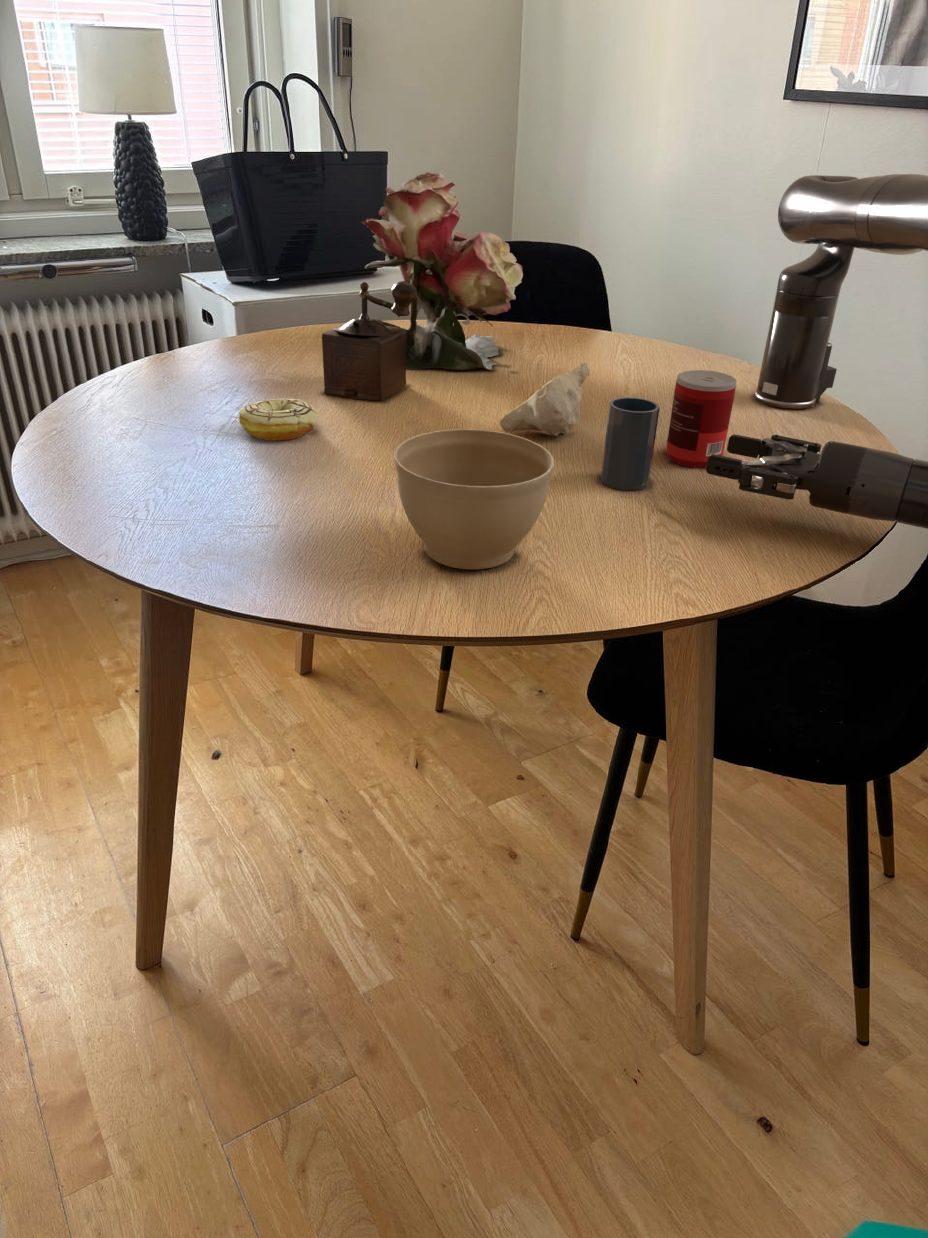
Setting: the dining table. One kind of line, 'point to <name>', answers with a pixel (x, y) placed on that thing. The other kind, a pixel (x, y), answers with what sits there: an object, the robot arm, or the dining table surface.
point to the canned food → (700, 416)
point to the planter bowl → (472, 493)
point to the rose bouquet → (443, 273)
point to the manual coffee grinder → (368, 351)
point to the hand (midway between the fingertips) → (718, 452)
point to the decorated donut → (278, 418)
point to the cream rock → (550, 405)
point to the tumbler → (629, 443)
